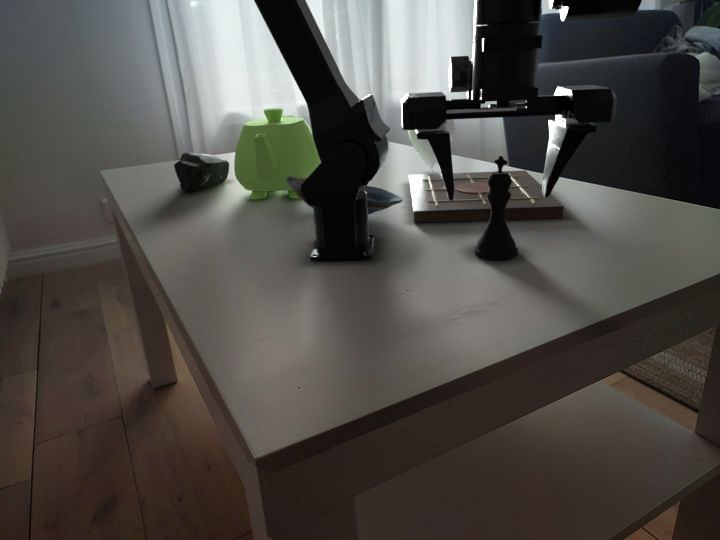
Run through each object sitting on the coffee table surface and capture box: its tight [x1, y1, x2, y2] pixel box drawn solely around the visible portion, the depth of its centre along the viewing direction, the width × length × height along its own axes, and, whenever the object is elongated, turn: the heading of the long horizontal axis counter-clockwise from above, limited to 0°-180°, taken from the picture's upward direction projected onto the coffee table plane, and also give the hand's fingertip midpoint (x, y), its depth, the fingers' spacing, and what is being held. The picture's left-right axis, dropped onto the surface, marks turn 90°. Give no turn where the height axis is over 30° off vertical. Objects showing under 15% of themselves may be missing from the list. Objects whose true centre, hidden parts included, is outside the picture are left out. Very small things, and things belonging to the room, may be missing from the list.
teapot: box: [233, 107, 321, 200], centre depth 81 cm, size 20×13×13 cm
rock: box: [173, 152, 230, 194], centre depth 89 cm, size 10×9×6 cm
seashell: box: [286, 176, 404, 215], centre depth 68 cm, size 15×12×5 cm
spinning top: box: [407, 119, 456, 174], centre depth 88 cm, size 8×8×12 cm
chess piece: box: [473, 155, 519, 261], centre depth 53 cm, size 4×4×10 cm
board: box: [408, 170, 565, 224], centre depth 74 cm, size 20×18×2 cm
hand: (497, 197), depth 52 cm, fingers open, 9 cm apart
